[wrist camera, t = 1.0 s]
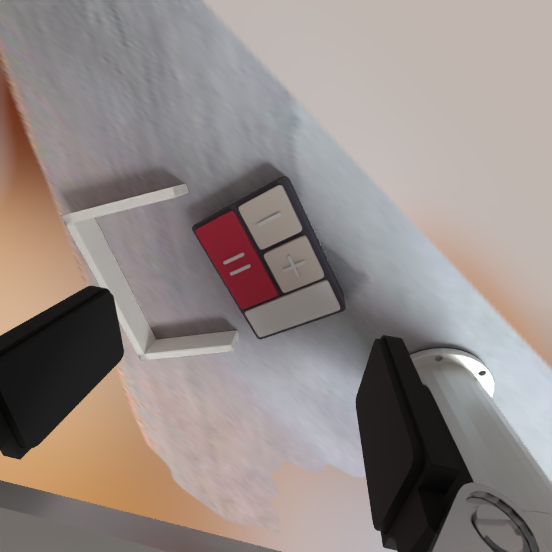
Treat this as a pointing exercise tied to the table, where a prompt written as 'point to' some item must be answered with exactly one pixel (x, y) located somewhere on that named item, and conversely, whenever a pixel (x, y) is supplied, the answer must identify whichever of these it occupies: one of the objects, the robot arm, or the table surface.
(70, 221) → the white u-shaped fence
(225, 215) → the calculator
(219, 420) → the table surface
